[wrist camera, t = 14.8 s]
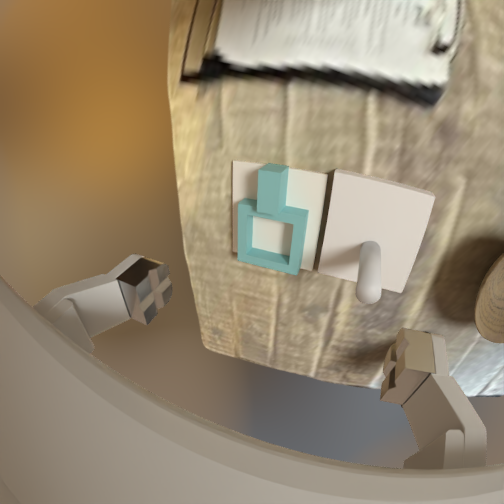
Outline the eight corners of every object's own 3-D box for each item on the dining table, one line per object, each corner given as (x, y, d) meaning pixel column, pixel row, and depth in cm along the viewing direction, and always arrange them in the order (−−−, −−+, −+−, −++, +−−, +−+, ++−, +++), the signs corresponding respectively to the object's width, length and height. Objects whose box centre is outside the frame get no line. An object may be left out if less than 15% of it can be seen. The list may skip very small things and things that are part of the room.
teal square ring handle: (245, 160, 39) (233, 166, 36) (313, 170, 36) (308, 177, 33) (243, 252, 48) (233, 265, 44) (300, 266, 45) (294, 281, 41)
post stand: (336, 168, 35) (323, 196, 26) (431, 192, 31) (455, 230, 21) (319, 265, 44) (302, 315, 34) (400, 285, 40) (403, 340, 30)
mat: (234, 159, 40) (232, 160, 40) (328, 174, 36) (327, 175, 35) (234, 249, 49) (232, 251, 48) (312, 269, 45) (312, 271, 44)
